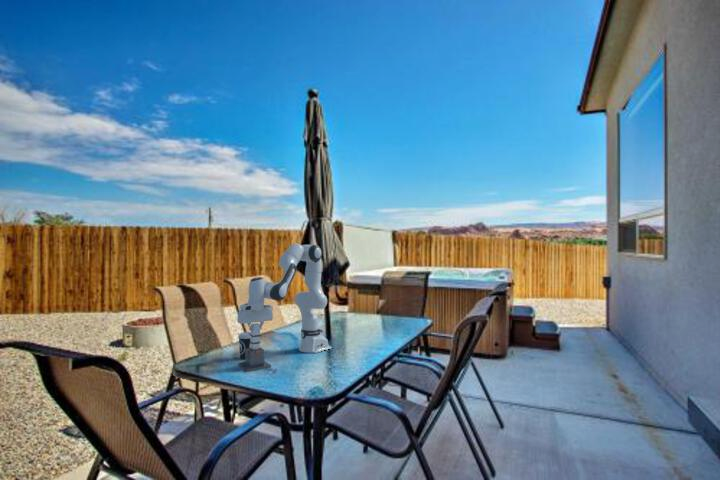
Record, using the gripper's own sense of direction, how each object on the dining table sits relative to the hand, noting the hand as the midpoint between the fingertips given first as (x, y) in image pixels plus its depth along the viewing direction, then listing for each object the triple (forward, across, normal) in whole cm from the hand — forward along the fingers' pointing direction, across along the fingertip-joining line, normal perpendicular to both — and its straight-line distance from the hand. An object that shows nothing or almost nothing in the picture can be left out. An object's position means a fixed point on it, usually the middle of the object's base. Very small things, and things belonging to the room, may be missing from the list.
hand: (255, 329), depth 209 cm
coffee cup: (+21, -2, -19) cm, 29 cm away
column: (+13, 0, 0) cm, 13 cm away
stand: (+21, 0, 0) cm, 21 cm away
